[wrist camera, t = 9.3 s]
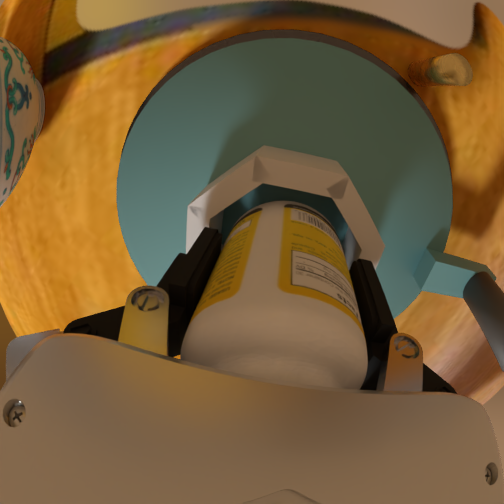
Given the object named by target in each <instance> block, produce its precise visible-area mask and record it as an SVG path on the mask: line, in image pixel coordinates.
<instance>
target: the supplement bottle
mask: <svg viewBox="0 0 504 504" xmlns="http://www.w3.org/2000/svg"><path fill="white" fill-rule="evenodd" d="M181 360H184V361H187V362H191V363H195V364H199V365H203V366H207V367H211V368H216V369H220V370H225V371H229V372H234V373H239V374H244V375H249V376H254V377H260V378H266V379H271V380H278V381H284V382H291V383H298V384H306V385H314V386H323V387H333V388H344V389H357V390H360V388H361V386H362V384H363V382H364V380H365V377H366V373H367V366H368V358H367V347H366V340H365V336H364V331H363V327H362V323H361V318H360V314H359V309H358V305H357V301H356V297H355V293H354V289H353V285H352V281H351V278H350V274H349V270H348V266H347V263H346V259H345V256H344V253H343V249H342V246H341V243H340V240H339V237H338V235H337V233H336V231H335V229H334V227H333V226H332V225H331V223H330V222H329V221H328V220H327V219H326V218H325V217H324V216H323V215H322V214H321V213H319V212H318V211H317V210H315V209H313V208H311V207H310V206H307V205H305V204H302V203H298V202H294V201H273V202H268V203H264V204H261V205H258V206H256V207H254V208H252V209H251V210H249V211H248V212H246V213H245V214H244V215H243V216H241V217H240V218H239V219H238V221H237V222H236V223H235V225H234V226H233V228H232V229H231V231H230V233H229V235H228V237H227V239H226V241H225V243H224V246H223V248H222V250H221V253H220V255H219V257H218V259H217V262H216V264H215V266H214V268H213V271H212V273H211V275H210V277H209V280H208V282H207V284H206V286H205V289H204V291H203V293H202V296H201V298H200V300H199V302H198V305H197V307H196V309H195V311H194V314H193V316H192V318H191V321H190V323H189V326H188V328H187V331H186V334H185V337H184V339H183V342H182V347H181Z"/></svg>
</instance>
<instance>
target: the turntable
mask: <svg viewBox="0 0 504 504" xmlns="http://www.w3.org/2000/svg"><path fill="white" fill-rule="evenodd" d="M273 201H294V202H298V203H302V204H305V205H307V206H310V207H311V208H313V209H315V210H317V211H318V212H319V213H321V214H322V215H323V216H324V217H325V218H326V219H327V220H328V221H329V222H330V223H331V225H332V226H333V227H334V229H335V231H336V233H337V235H338V237H339V240H340V243H341V246H342V249H343V253H344V256H345V259H346V263H347V266H348V270H350V267H351V265H352V262H353V261H357V260H358V259H359V258H360V259H365V260H369V261H371V262H372V263H373V266H374V268H375V271H376V273H377V276H378V278H379V281H380V283H381V286H382V289H383V291H384V294H385V297H386V299H387V302H388V305H389V308H390V310H391V313H392V316H393V319H394V318H395V317H397V316H398V315H399V314H400V313H401V312H403V311H404V310H405V309H406V308H407V307H408V306H409V305H410V304H411V303H412V302H413V301H414V300H415V299H416V297H417V296H418V295H419V294H420V292H421V291H427V292H433V293H438V294H443V295H448V296H454V297H459V298H464V300H465V302H466V303H467V305H468V306H469V308H470V310H471V311H472V313H473V315H474V317H475V318H476V320H477V322H478V324H479V325H480V327H481V329H482V331H483V333H484V335H485V336H486V338H487V340H488V342H489V344H490V346H491V348H492V350H493V352H494V354H495V356H496V358H497V361H498V363H499V365H500V367H501V369H502V371H504V293H503V292H502V290H501V289H500V288H499V286H498V285H497V284H496V282H495V280H496V276H495V275H494V274H493V273H492V272H491V270H490V269H489V268H488V267H487V266H486V265H483V264H480V263H477V262H473V261H470V260H467V259H464V258H460V257H457V256H454V255H450V254H447V253H443V252H444V249H445V246H446V242H447V239H448V235H449V231H450V226H451V218H452V209H453V195H452V181H451V175H450V170H449V164H448V161H447V158H446V154H445V151H444V148H443V145H442V143H441V140H440V138H439V136H438V134H437V132H436V130H435V128H434V126H433V124H432V122H431V121H430V119H429V117H428V116H427V115H426V113H425V112H424V110H423V109H422V108H421V106H420V105H419V103H418V102H417V101H416V99H415V98H414V97H413V96H412V95H411V94H410V93H409V92H408V91H407V90H406V89H405V88H404V87H403V86H402V85H401V84H400V83H399V82H398V81H397V80H396V79H394V78H393V77H392V76H390V75H389V74H388V73H386V72H385V71H384V70H382V69H381V68H379V67H378V66H377V65H375V64H374V63H372V62H370V61H368V60H366V59H364V58H362V57H360V56H358V55H356V54H354V53H352V52H350V51H347V50H344V49H341V48H338V47H335V46H332V45H329V44H325V43H322V42H316V41H310V40H303V39H295V38H270V39H260V40H254V41H248V42H243V43H238V44H234V45H231V46H228V47H226V48H223V49H220V50H217V51H215V52H212V53H210V54H208V55H206V56H204V57H202V58H200V59H198V60H197V61H195V62H193V63H191V64H189V65H188V66H186V67H185V68H184V69H182V70H181V71H180V72H178V73H177V74H176V75H174V76H173V77H172V78H171V79H169V80H168V81H167V82H166V83H165V84H164V85H163V86H162V87H161V88H160V89H159V90H158V91H157V92H156V93H155V94H154V96H153V97H152V98H151V99H150V100H149V101H148V103H147V104H146V106H145V107H144V109H143V110H142V112H141V113H140V115H139V116H138V118H137V119H136V121H135V123H134V125H133V127H132V129H131V131H130V133H129V136H128V138H127V140H126V143H125V146H124V149H123V153H122V156H121V159H120V165H119V171H118V177H117V209H118V217H119V223H120V227H121V231H122V235H123V238H124V241H125V244H126V246H127V249H128V252H129V254H130V256H131V259H132V260H133V262H134V264H135V266H136V268H137V270H138V271H139V273H140V275H141V276H142V278H143V279H144V280H145V282H146V283H147V285H148V286H157V284H158V283H159V281H160V280H161V278H162V277H163V276H164V274H165V273H166V271H167V270H168V268H169V267H170V265H171V264H172V262H173V261H174V259H175V258H176V257H177V255H178V254H179V253H185V254H187V253H188V251H189V250H190V248H191V247H192V245H193V244H194V242H195V241H196V239H197V238H198V236H199V235H200V233H201V232H202V230H203V229H204V227H208V228H214V229H218V233H222V245H221V250H222V248H223V246H224V243H225V241H226V239H227V237H228V235H229V233H230V231H231V229H232V228H233V226H234V225H235V223H236V222H237V221H238V219H239V218H240V217H241V216H243V215H244V214H245V213H246V212H248V211H249V210H251V209H252V208H254V207H256V206H258V205H261V204H264V203H268V202H273Z"/></svg>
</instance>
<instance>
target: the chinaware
mask: <svg viewBox="0 0 504 504" xmlns="http://www.w3.org/2000/svg"><path fill="white" fill-rule="evenodd" d="M44 115H45V97H44V92H43V89H42V86H41V84H40V82H39V81H38V80H37V79H36V78H35V75H34V73H33V70H32V68H31V65H30V63H29V62H28V60H27V58H26V57H25V55H24V54H23V53H22V52H21V51H20V49H19V48H17V47H16V46H15V45H14V44H13V43H11V42H10V41H8V40H6V39H4V38H2V37H0V207H1V206H2V204H3V203H4V202H5V201H6V199H7V198H8V197H9V195H10V194H11V192H12V191H13V189H14V188H15V186H16V184H17V183H18V181H19V179H20V177H21V175H22V173H23V171H24V169H25V167H26V165H27V162H28V160H29V157H30V154H31V151H32V148H33V145H34V142H35V141H36V139H37V138H38V136H39V134H40V131H41V129H42V125H43V121H44Z"/></svg>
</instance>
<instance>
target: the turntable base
mask: <svg viewBox="0 0 504 504" xmlns="http://www.w3.org/2000/svg"><path fill="white" fill-rule="evenodd" d="M270 38H295V39H303V40H310V41H316V42H322V43H325V44H329V45H332V46H335V47H338V48H341V49H344V50H347V51H350V52H352V53H354V54H356V55H358V56H360V57H362V58H364V59H366V60H368V61H370V62H372V63H374V64H375V65H377V66H378V67H379V68H381V69H382V70H384V71H385V72H386V73H388V74H389V75H390V76H392V77H393V78H394V79H396V80H397V81H398V82H399V83H400V84H401V85H402V86H403V87H404V88H405V89H406V90H407V91H408V92H409V93H410V94H411V95H412V96H413V97H414V98H415V99H416V101H417V102H418V103H419V105H420V106H421V108H422V109H423V110H424V112H425V113H426V115H427V116H428V117H429V119H430V121H431V122H432V124H433V126H434V128H435V130H436V132H437V134H438V136H439V138H440V140H441V143H442V145H443V148H444V151H445V154H446V158H447V161H448V164H449V159H448V154H447V150H446V147H445V144H444V141H443V139H442V136H441V133H440V130H439V128H438V126H437V124H436V122H435V120H434V119H433V117H432V115H431V113H430V111H429V109H428V108H427V106H426V105H425V104H424V102H423V101H422V100H421V98H420V97H419V96H418V94H417V93H416V92H415V90H414V89H413V88H412V87H411V86H410V85H409V84H408V83H407V82H406V81H405V80H404V79H403V78H402V77H401V76H400V75H399V74H398V73H397V72H396V71H395V70H394V69H392V68H391V67H390V66H388V65H387V64H386V63H384V62H383V61H381V60H380V59H379V58H377V57H376V56H374V55H373V54H371V53H369V52H367V51H365V50H363V49H361V48H359V47H357V46H355V45H353V44H351V43H349V42H346V41H343V40H340V39H337V38H334V37H331V36H327V35H324V34H320V33H314V32H307V31H300V30H263V31H257V32H251V33H246V34H241V35H237V36H234V37H231V38H228V39H225V40H222V41H219V42H216V43H214V44H211V45H210V46H208V47H206V48H204V49H202V50H200V51H198V52H196V53H195V54H193V55H191V56H189V57H188V58H187V59H185V60H184V61H183V62H181V63H180V64H179V65H177V66H176V67H175V68H173V69H172V70H171V71H170V72H169V73H168V74H167V75H166V76H165V77H164V78H163V79H162V80H161V81H160V82H159V83H158V84H157V85H156V86H155V87H154V88H153V89H152V91H151V92H150V94H149V95H148V96H147V98H146V99H145V101H144V102H143V104H142V105H141V106H140V108H139V110H138V112H137V114H136V116H135V118H134V120H133V122H132V124H131V126H130V128H129V131H128V133H127V136H126V140H127V138H128V136H129V133H130V131H131V129H132V127H133V125H134V123H135V121H136V119H137V118H138V116H139V115H140V113H141V112H142V110H143V109H144V107H145V106H146V104H147V103H148V101H149V100H150V99H151V98H152V97H153V96H154V94H155V93H156V92H157V91H158V90H159V89H160V88H161V87H162V86H163V85H164V84H165V83H166V82H167V81H168V80H169V79H171V78H172V77H173V76H174V75H176V74H177V73H178V72H180V71H181V70H182V69H184V68H185V67H186V66H188V65H189V64H191V63H193V62H195V61H197V60H198V59H200V58H202V57H204V56H206V55H208V54H210V53H212V52H215V51H217V50H220V49H223V48H226V47H228V46H231V45H234V44H238V43H243V42H248V41H254V40H260V39H270ZM408 73H409V77H410V79H411V80H412V82H413V83H415V84H416V85H418V86H421V87H427V86H466V85H468V84H470V82H471V81H472V76H473V74H472V69H471V66H470V64H469V62H468V61H467V60H466V59H465V58H464V57H463V56H462V55H460V54H458V53H451V54H447V55H442V56H437V57H433V58H429V59H425V60H421V61H417V62H414V63H412V64H411V65H410V66H409V69H408ZM126 140H125V143H126ZM125 143H124V146H125ZM124 146H123V149H124ZM123 149H122V153H123ZM121 156H122V154H121ZM449 170H450V175H451V169H450V164H449ZM451 181H452V177H451Z"/></svg>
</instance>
